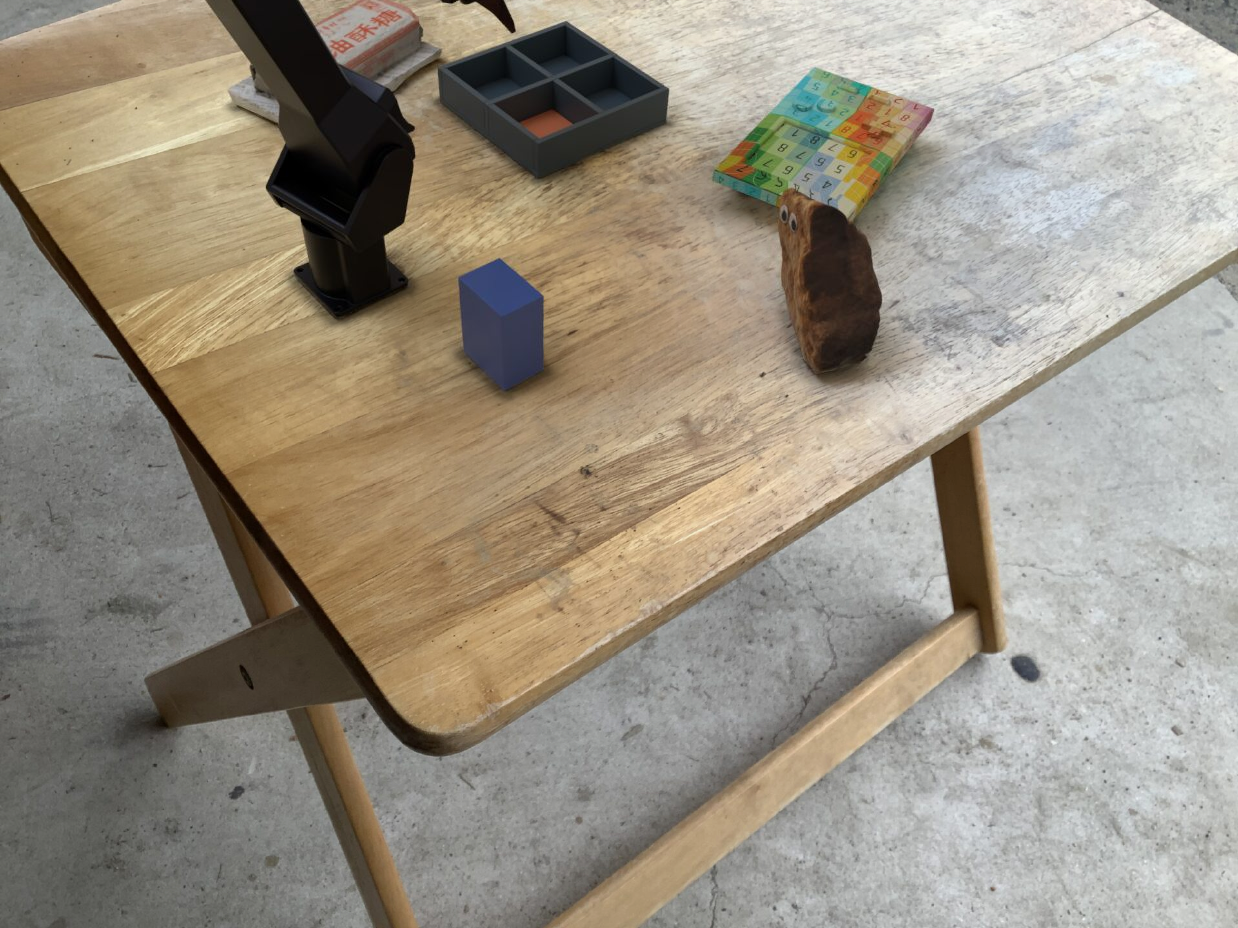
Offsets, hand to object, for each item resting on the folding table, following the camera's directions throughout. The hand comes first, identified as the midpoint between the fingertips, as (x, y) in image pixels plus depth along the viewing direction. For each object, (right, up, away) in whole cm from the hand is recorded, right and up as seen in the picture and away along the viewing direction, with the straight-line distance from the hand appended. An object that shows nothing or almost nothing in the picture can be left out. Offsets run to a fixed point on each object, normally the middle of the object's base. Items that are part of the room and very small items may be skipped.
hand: (562, 4), depth 88 cm
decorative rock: (+19, -27, -5) cm, 33 cm away
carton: (-4, -30, -9) cm, 31 cm away
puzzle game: (+22, -12, +8) cm, 27 cm away
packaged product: (-21, -2, +14) cm, 26 cm away
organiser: (-2, -5, +12) cm, 13 cm away
